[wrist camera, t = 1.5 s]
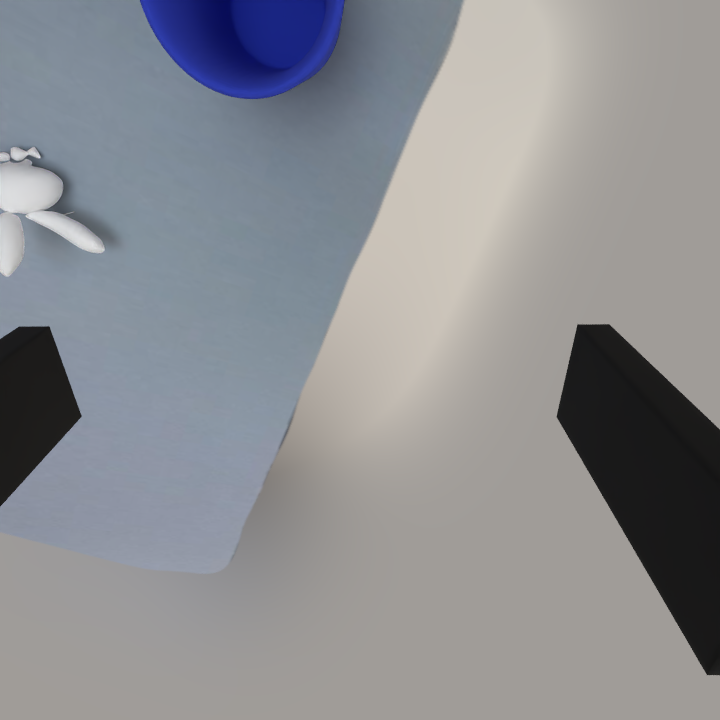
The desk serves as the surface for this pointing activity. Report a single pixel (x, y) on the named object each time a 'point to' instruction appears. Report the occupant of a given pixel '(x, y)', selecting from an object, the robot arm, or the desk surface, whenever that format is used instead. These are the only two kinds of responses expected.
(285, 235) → the desk surface
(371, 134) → the desk surface
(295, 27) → the mug
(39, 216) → the rabbit figurine
